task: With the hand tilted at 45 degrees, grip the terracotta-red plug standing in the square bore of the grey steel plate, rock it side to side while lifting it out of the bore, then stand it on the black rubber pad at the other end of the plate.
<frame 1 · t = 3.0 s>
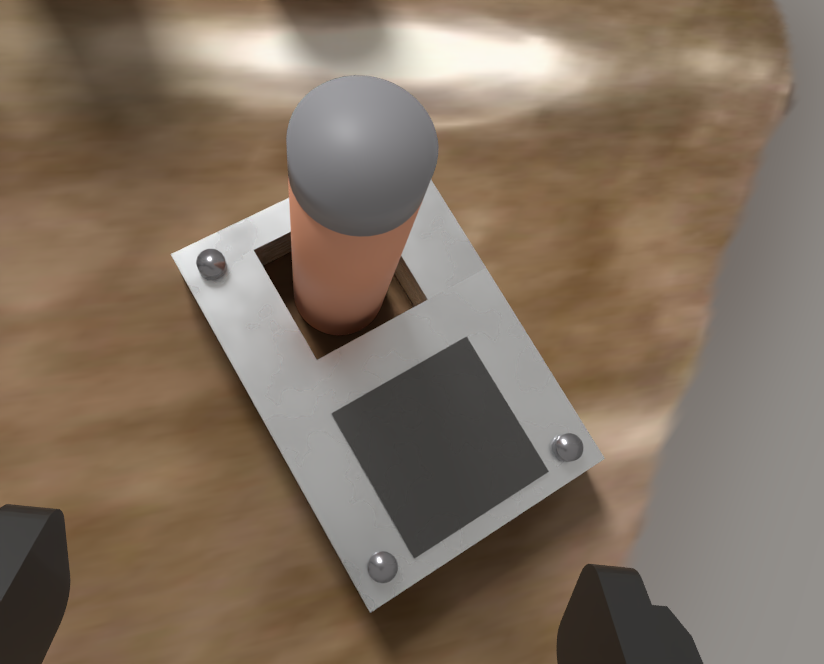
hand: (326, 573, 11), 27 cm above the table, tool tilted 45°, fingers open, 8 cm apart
plug: (338, 291, 40), resting in plate
plate: (383, 368, 39), on the table
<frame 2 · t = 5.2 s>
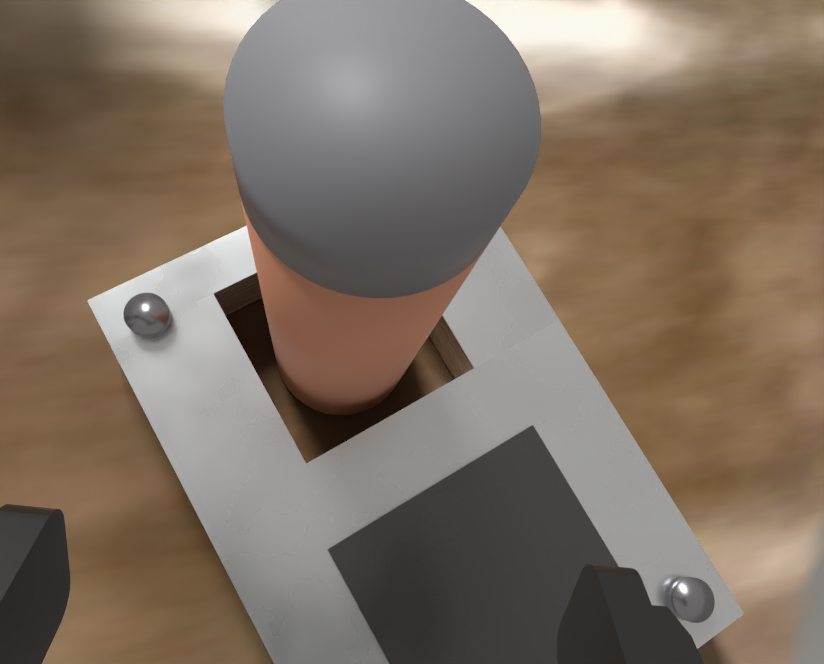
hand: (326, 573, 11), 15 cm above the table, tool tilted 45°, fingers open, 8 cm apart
plug: (341, 350, 27), resting in plate
plate: (406, 464, 27), on the table
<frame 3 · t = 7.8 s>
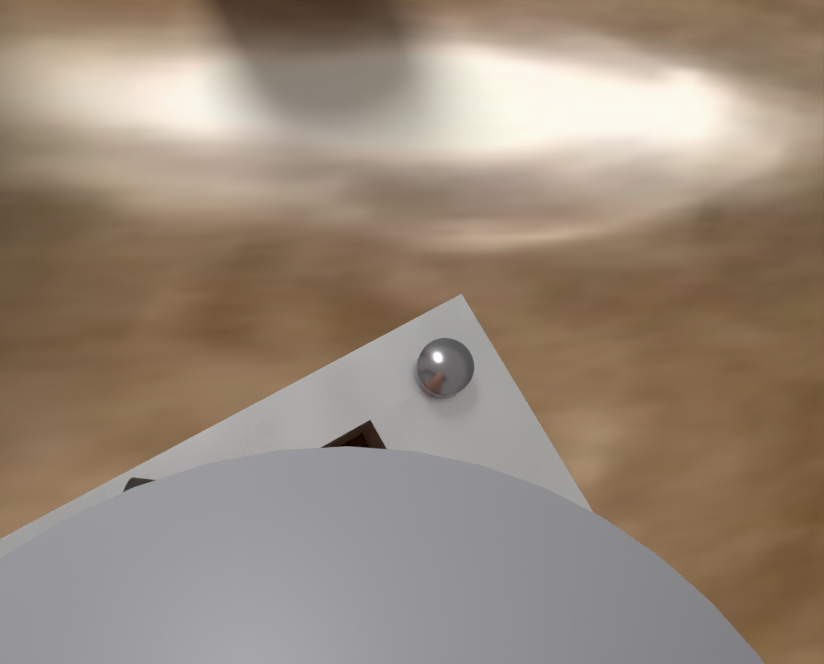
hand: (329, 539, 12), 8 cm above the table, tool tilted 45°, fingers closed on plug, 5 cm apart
plug: (313, 601, 19), resting in plate, touching gripper
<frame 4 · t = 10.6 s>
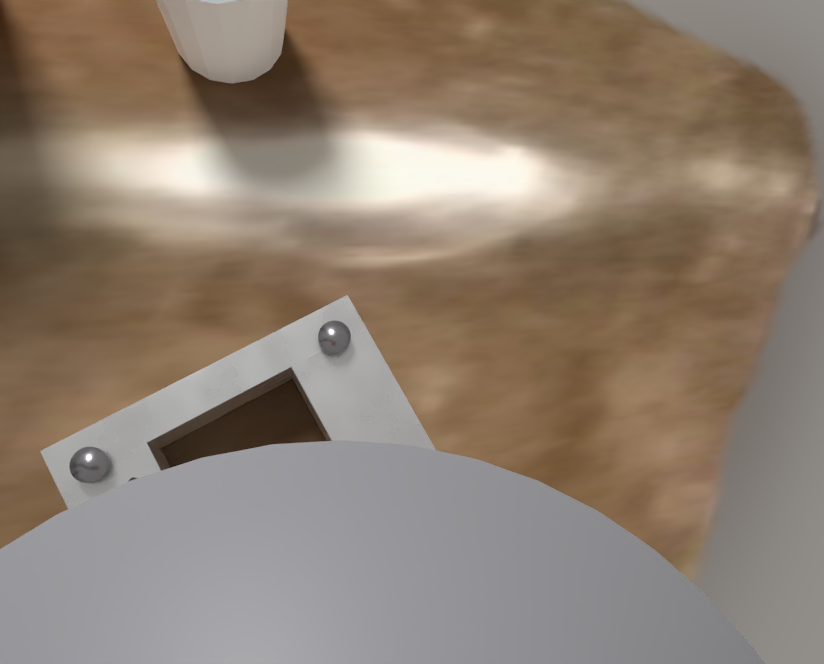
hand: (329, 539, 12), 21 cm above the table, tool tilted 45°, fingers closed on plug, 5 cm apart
white tapered cup: (230, 38, 38), on the table
plug: (313, 600, 19), point 13 cm above the table, touching gripper
plate: (314, 575, 32), on the table
when the fingers open (12 cm above the table, at t = 13.6 s): plug stays where it is, resting on plate.
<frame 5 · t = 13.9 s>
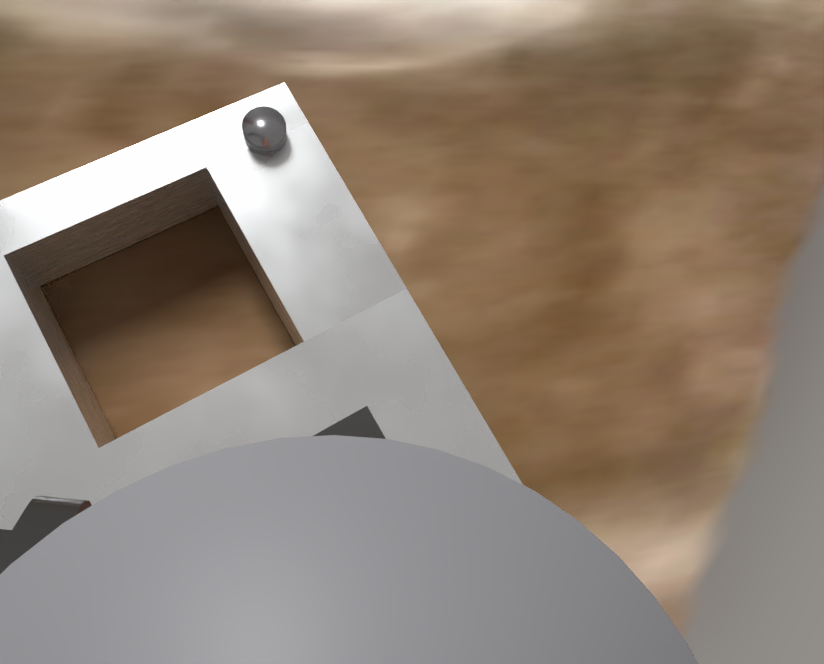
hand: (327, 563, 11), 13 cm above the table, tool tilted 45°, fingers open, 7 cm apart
plug: (311, 604, 20), point 3 cm above the table, touching plate
plate: (241, 451, 24), on the table
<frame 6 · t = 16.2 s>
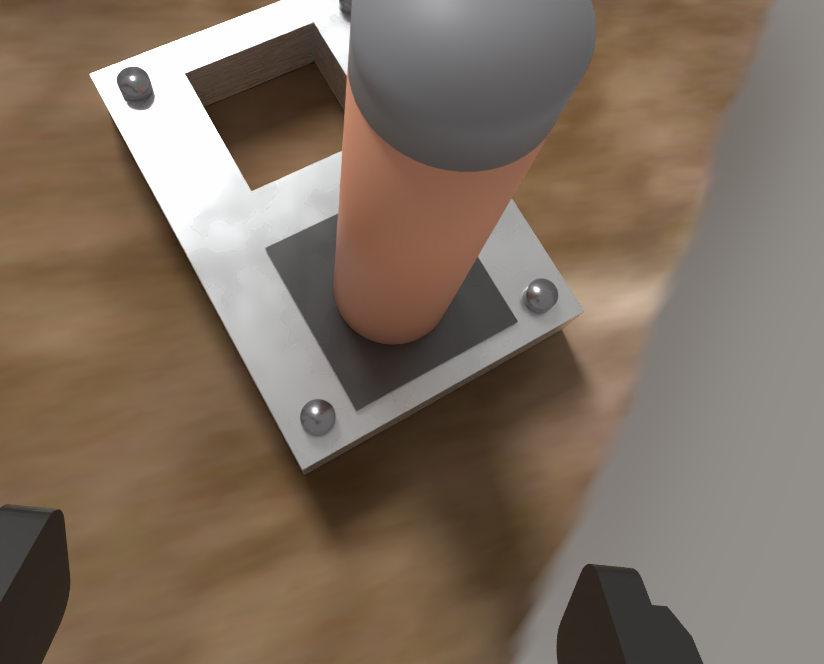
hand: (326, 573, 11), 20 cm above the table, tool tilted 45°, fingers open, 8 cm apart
plug: (391, 288, 31), point 3 cm above the table, touching plate
plate: (335, 220, 35), on the table
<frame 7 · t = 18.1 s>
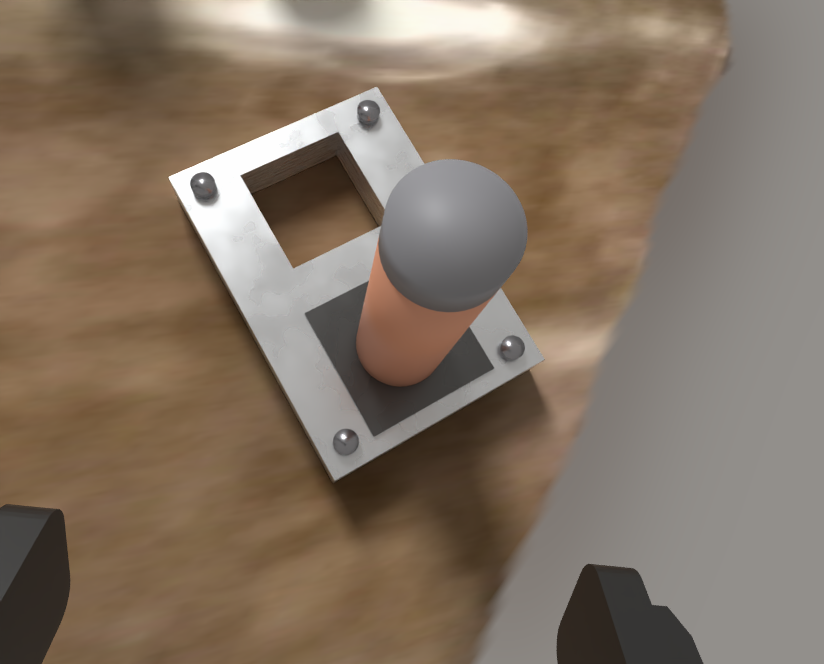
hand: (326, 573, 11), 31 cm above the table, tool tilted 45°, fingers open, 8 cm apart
plug: (399, 343, 41), point 3 cm above the table, touching plate
plate: (354, 284, 44), on the table
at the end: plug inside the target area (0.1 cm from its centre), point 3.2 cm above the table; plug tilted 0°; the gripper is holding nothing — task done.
